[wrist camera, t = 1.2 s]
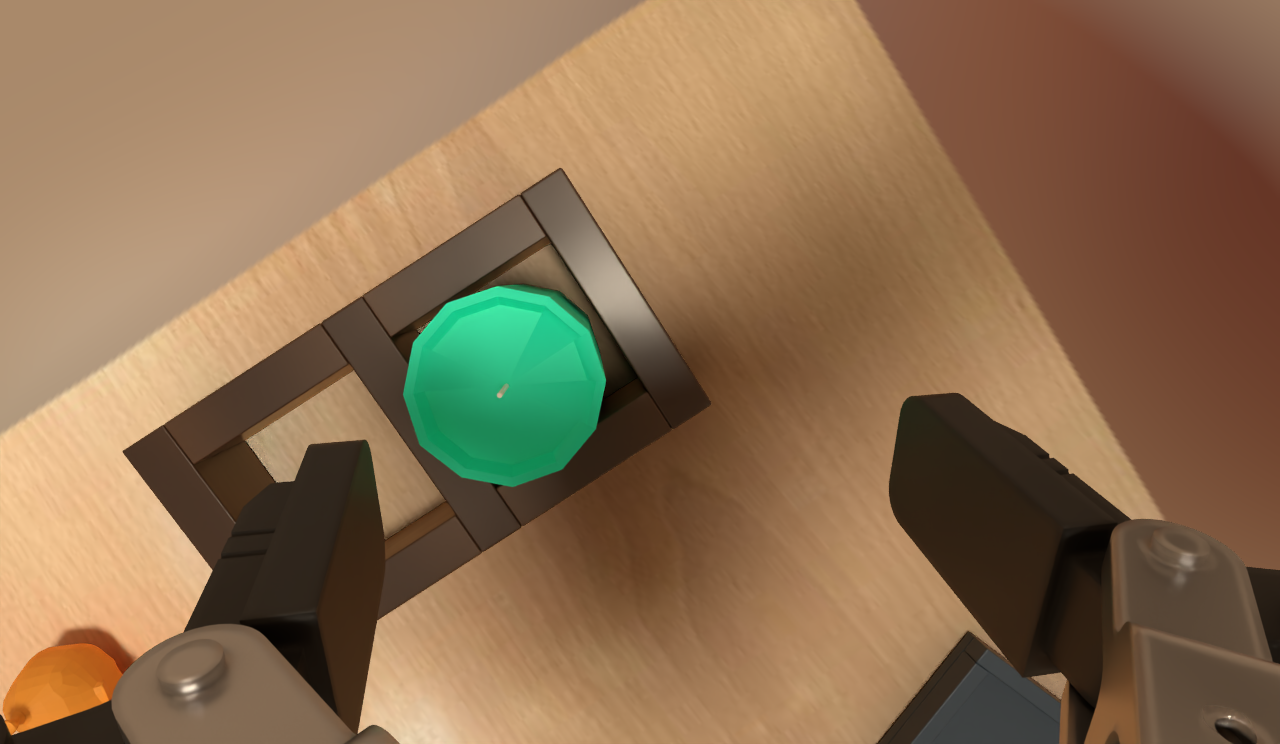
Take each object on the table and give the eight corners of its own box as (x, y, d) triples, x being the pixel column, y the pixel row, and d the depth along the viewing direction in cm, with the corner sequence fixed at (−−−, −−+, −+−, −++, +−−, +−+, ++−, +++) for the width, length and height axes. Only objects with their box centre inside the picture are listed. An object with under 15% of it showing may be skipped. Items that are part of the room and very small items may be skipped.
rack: (564, 181, 33) (561, 166, 29) (696, 388, 35) (712, 404, 30) (183, 428, 33) (121, 451, 29) (330, 624, 35) (292, 675, 30)
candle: (510, 450, 34) (472, 541, 22) (429, 335, 34) (344, 366, 22) (626, 373, 34) (649, 423, 22) (547, 256, 34) (527, 243, 22)
